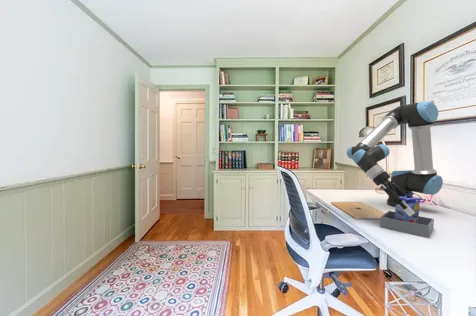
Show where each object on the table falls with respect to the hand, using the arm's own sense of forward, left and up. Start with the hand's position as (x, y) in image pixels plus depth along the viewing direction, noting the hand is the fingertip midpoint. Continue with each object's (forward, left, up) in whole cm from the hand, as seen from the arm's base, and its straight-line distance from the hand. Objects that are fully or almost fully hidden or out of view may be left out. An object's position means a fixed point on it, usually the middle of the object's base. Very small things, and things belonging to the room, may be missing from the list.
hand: (414, 212), depth 107 cm
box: (0, -3, -8) cm, 9 cm away
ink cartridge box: (0, -3, -6) cm, 7 cm away
